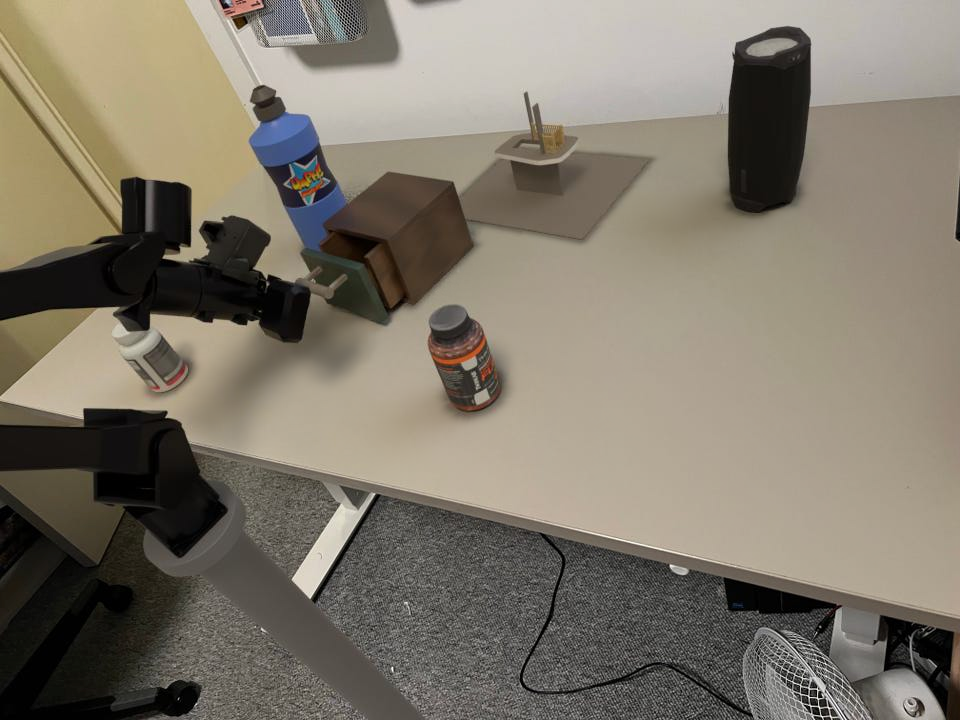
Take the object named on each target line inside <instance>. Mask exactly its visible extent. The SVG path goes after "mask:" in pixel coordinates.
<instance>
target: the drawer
mask: <svg viewBox="0 0 960 720" xmlns="http://www.w3.org/2000/svg"><path fill="white" fill-rule="evenodd" d="M318 246H319V248H320V250H321V252H320V251H316V250H313V249H309V248H305V247H304V249H302V250H301V251H300V252H299V255H300V257H301V258H302V260H303V262H304V263H305V265H306V267H307V269H308V272H309V273H308V274H307V275H305V276H304V277H303V278H302V277H298V278H296V279H295V281H294V283H297V284H300V285H303V286H306V287H309V289H310V292H311V295H312V294H313V295H314V296H318V297H321V298H323V299H324V301H325V302H326V304H327V305H329V306H331V307H335V308H338V309H341V310H343V311H345V312H349V313H352V314H355V315H357V316H360V317H364V318H366V319H369V320H372V321H375V322H376V323H377V322H378V323H379V324H380V323H381V324H384V323H385V322H386V321H388V320H389V318H390V317H389V315H388V312H387V311H386V308H389V309H392V308H393V307H395V305H396V304H398V303H399V302H400V299H401V298H403V297H404V296H405V295H406V293H405V291H404V288H403V286H402V284H401V281H400V279H399V277H398V274H397V272H396V270H395V267H394V265H393V262H392V260H391V258H390V255H389V253H388V251H387V248H386V246H385V244H384V243H380V242H376V241H372V240H368V239H364V238H360V237H356V236H352V235H348V234H344V233H340V232H336V231H333V232H331V233H330V234H329V235H328V236H327V237H325V238H324V239H323V240H322V241H320V242H319V243H318ZM312 280H314V281H312Z"/></svg>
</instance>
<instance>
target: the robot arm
mask: <svg viewBox="0 0 960 720" xmlns="http://www.w3.org/2000/svg"><path fill="white" fill-rule="evenodd" d="M119 183H120V185H119V188H120V189H119V191H120V197H121V234H112V235H111V234H110V235H103V236H102V235H101V236H99V237H96V239H93V241H91V242H89V243H87V244H86V245H85V244H84V245H83V244H82V245H76V246H74V245H73V246H66V247H62V248H59V249H56V250H53V251H50V252H48V253H47V252H46V253H44V254H42V255H38V256H36V257H33V258H32V259H30V260H28V261H26V262H24V263H22V264H19V265H16V266H13V267H10V268H7V269H6V268H5V269H0V322H2V321H6V320H11V319H14V318H21V317H25V316H29V315H33V314H38V313H42V312H43V313H44V312H46V311H67V310H72V311H73V310H89V309H90V310H91V309H108V308H109V309H110V308H111V309H112V308H117V309H116V310H115V311H114V312H112V316H113V318H115V319H117V321H119V323H120V322H121V324H122V325H123V326H124V328H125V329H126V331H127V332H140V331H148V330H149V329H150V327H151V315H155V316H156V315H157V316H168V317H169V316H170V317H182V318H191V319H192V318H193V319H195V320H197V321H200V322H201V323H207V324H213V323H214V320H219V321H229V322H231V323H233V324H235V325H238V326H246V327H247V326H248V322H251V323H252V322H256V321H258V326H259V328H260V329H261V330H262V332H263V334H264V335H265V336H267V337H270V338H272V339H274V340H276V341H278V342H281V343H283V344H299V343H300V342H302V340H303V336H304V332H305V327H306V322H307V318H308V312H309V308H310V305H311V297H312V293H311V292H310V289H309V287H306V286H303V285H300V284H297V283H295V281H294V282H293V281H289V280H284V279H282V278H281V277H278V276H276V275H273V274H270V273H268V274H267V277H266V276H265V275H264V273H263V271H261V270H257V269H255V267H256V265H257V264H258V262H259V260H260V258H261V257H262V255H263V253H264V251H265V249H266V248H267V247H269V245H270V243H271V240H272V236H271V234H270V233H269V232H267V231H266V230H264V229H262V228H261V227H260V226H259V225H257V224H255V222H253V221H251V220H250V219H248V218H245V217H240V216H237V215H233V214H232V215H228V216H227V217H226V216H222V217H221V220H222V221H216V220H203V222H202V224H201V225H200V226H199V229H198V233H199V234H200V236H201V238H202V239H203V241H204V242H205V244H206V245H205V249H207V250H208V253H207V254H205V255H203V256H202V257H201V258H198V257H197V258H196V257H193V260H191V259H189V260H188V261H183V260H177V259H170V258H164V256H176V255H177V256H178V255H180V254H181V248H184V249H185V248H186V249H190V248H192V213H193V212H192V208H193V207H192V206H193V205H192V203H193V190H192V188H191V187H190V186H189V185H187V184H185V183H182V182H180V181H166V180H159V179H144V178H142V177H140V176H132V177H131V176H130V177H125V178H121V179H120V182H119ZM82 413H83V415H82V416H83V422H80V423H75V424H74V425H67V426H66V425H37V424H36V425H34V424H2V423H1V424H0V472H29V471H51V470H52V471H53V470H55V471H56V470H78V471H83V472H88V473H92V480H93V481H92V483H93V485H92V486H93V489H92V490H93V491H92V493H93V495H92V496H93V502H94V503H97V504H100V505H103V506H106V507H107V506H108V507H122V509H124V511H126V512H127V514H129V515H130V517H132V518H133V519H134V520H135V521H137V522H138V523H139V524H140V525H141V526H143V528H145V530H146V529H147V530H148V531H149V532H150V533H151V534H152V535H153V536H154V537H155V538H156V539H157V540H158V541H160V542H161V543H162V544H163V545H164V546H165V547H166V548H167V549H168V550H169V551H171V552H172V553H173V554H174V555H175V556H176V557H177V558H182V557H184V556H185V555H186V554H187V553H188V552H189V551H190V550H191V549H192V548H193V547H194V546H195V545H196V544H197V543H198V542H199V541H200V540H201V539H202V538H203V537H204V536H205V535H206V534H207V533H208V532H209V531H210V530H211V529H212V528H213V527H214V526H215V525H216V524H217V523H218V522H219V521H220V519H221V518H222V517H223V516H224V515H225V514H226V513H227V512H228V508H227V507H226V506H225V505H223V504H222V503H221V502H219V501H218V499H219V498H220V495H219V494H218V493H217V492H216V491H215V490H214V489H213V488H212V487H211V486H210V485H209V484H208V483H207V482H206V481H207V480H206V479H205V478H204V477H203V476H202V475H201V470H200V467H199V465H198V462H197V460H196V457H195V454H194V452H193V450H192V447H191V444H190V442H189V440H188V438H187V434H186V431H185V429H184V427H183V423H182V422H181V421H180V420H178V419H176V418H172V417H167V415H168V413H169V411H168V410H165V409H164V410H161V409H160V410H159V409H158V410H157V409H156V410H155V409H133V408H108V407H106V408H102V407H100V408H98V407H83V408H82Z"/></svg>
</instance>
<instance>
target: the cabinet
mask: <svg viewBox="0 0 960 720" xmlns="http://www.w3.org/2000/svg"><path fill="white" fill-rule="evenodd" d="M459 197H460V196H459V194H458V190H457V187H456V184H455V182H454V181H453V180H446V179H441V178H433V177H429V176H428V177H426V176H420V175H415V174H408V173H401V172H395V171H386V172H385V173H384V174H383V175H382V176H380V177H379V178H378V179H377V180H376V181H373V183H372V184H370V185H369V186H368V187H366V188H365V189H364V190H363V191H361V192H360V193H359V194H358V195H356V196H355V197H354V198H353V199H352V200H350V201H349V202H347V205H345V206H344V207H343V208H342V209H340V210H339V211H338V212H337V213H335V214H334V215H333V216H331V217H330V218H329V219H328V220H326V221H325V222H324V223H323V224H322V225H323V227H324V229H325V231H326V233H327V235H329V234H330V233H331V232H333V231H336V232H340V233H344V234H348V235H352V236H356V237H360V238H364V239H368V240H372V241H376V242H380V243H384V244H385V246H386V248H387V251H388V253H389V255H390V258H391V260H392V262H393V265H394V267H395V270H396V272H397V274H398V277H399V279H400V281H401V284H402V286H403V288H404V291H405V293H406V295H405V296H404V297H403V298H401V299H400V300H399V302H403V303H406V304H409V305H413V306H414V305H416V304H417V303H418V302H419V301H420V300H421V299H422V298H423V297H424V296H425V295H426V294H427V293H428V292H429V291H430V290H431V289H432V288H434V286H435V285H436V284H437V283H438V282H439V281H440V280H441V279H442V278H443V277H444V276H445V275H447V273H448V272H450V271H451V270H452V269H453V267H455V266H456V264H458V263H459V262H460V261H461V260H462V259H463V258H464V257H465V256H466V255H467V254H468V253H469V252H470V251H471V250H472V249H473V248H474V243H473V240H472V237H471V233H470V230H469V226H468V224H467V219H465V217H464V214H463V210H462V207H461V204H460V201H459V199H460V198H459Z"/></svg>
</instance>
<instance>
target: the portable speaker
mask: <svg viewBox="0 0 960 720" xmlns="http://www.w3.org/2000/svg"><path fill="white" fill-rule="evenodd" d="M734 45H735V46H734V51H732V52H731V53H732V54H731V55H732V59H733V64H732V72H731V79H730V86H729V94H728V110H727V111H728V113H727V114H728V115H727V116H728V117H727V120H728V121H727V168H728V183H729V184H728V185H729V193H730V195H731V198H732V202H733V204H734V207H735V208H737V209H740V210H741V211H746V212H750V213H760V212H761V211H762V210H763V209H764V208H766V207H770V206H773V205H777V204H781V203H784V204H791V203H792V202H793V200H794V198H795V196H796V195H797V186H798V183H799V179H800V175H801V172H802V166H803V161H804V156H805V149H806V142H807V132H808V123H809V114H810V105H811V96H812V95H811V94H812V41H811V37H810V36H808V34H807V33H806V32H805V31H804V30H803V29H802V28H801V27H799V26H790V25H785V26H776V27H770V28H768V29H767V30H764V31H763V32H761V33H758V34H755V35H753V36H751V37H747V38H746V39H743V40H740V41H736V42H735V44H734Z"/></svg>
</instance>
